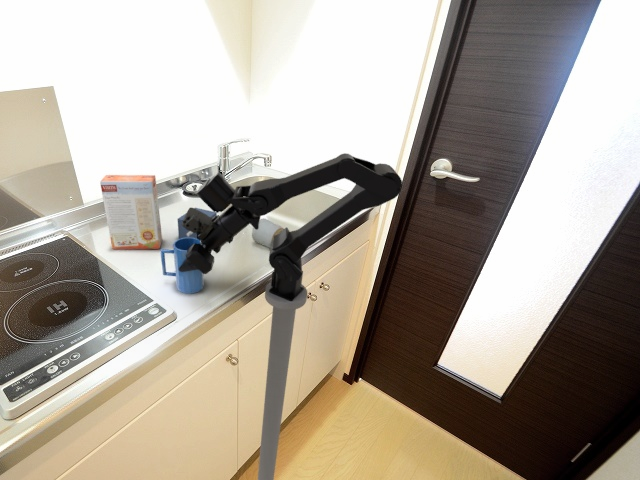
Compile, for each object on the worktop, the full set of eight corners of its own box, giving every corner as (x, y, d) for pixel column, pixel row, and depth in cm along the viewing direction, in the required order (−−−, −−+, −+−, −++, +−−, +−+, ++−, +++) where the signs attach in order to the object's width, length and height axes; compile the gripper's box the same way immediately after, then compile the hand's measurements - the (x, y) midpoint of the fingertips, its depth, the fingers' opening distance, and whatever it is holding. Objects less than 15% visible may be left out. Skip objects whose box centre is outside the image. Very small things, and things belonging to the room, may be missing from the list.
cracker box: (162, 240, 113) (156, 174, 102) (159, 250, 108) (152, 181, 97) (117, 240, 112) (105, 173, 101) (111, 249, 107) (99, 180, 96)
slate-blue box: (195, 227, 122) (195, 207, 118) (216, 232, 119) (216, 212, 115) (169, 246, 110) (167, 225, 106) (191, 252, 107) (190, 230, 103)
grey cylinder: (271, 254, 107) (273, 230, 103) (250, 244, 112) (252, 221, 108) (292, 242, 114) (295, 220, 110) (272, 234, 118) (274, 212, 115)
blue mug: (205, 279, 95) (204, 238, 89) (200, 294, 89) (199, 252, 83) (167, 276, 96) (163, 235, 90) (159, 291, 90) (155, 248, 84)
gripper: (210, 185, 88) (169, 223, 95) (193, 217, 72) (145, 260, 79) (241, 217, 91) (200, 252, 98) (232, 254, 76) (183, 293, 82)
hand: (183, 262), depth 89 cm, fingers closed on blue mug, 7 cm apart
